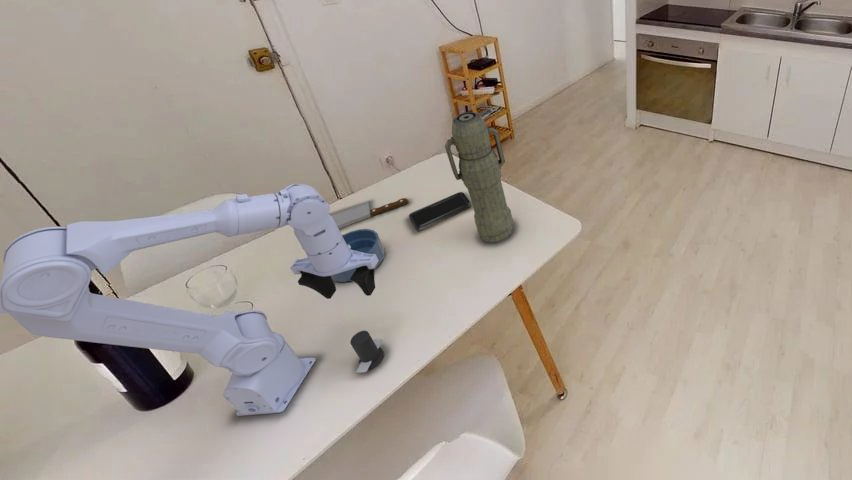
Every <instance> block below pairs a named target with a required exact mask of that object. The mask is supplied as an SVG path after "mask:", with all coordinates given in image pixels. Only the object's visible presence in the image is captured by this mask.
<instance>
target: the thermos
mask: <svg viewBox="0 0 852 480" xmlns="http://www.w3.org/2000/svg"><path fill="white" fill-rule="evenodd" d="M491 134H492V135H493V139H494V143H495V147H496V152H497V154H496V152H495V151H494V149H493V145H491V144H492V141H491V137H490V136H491ZM451 135H452V136H450V138H448V139H447V140H446V141H445V145H444V149H445V152H446V156H447V158H448V161H449V164H450V168H451V170H452V173H453V176H454V178H455V179H456V181H459V180H461V182H463V185H464V186H465V188H466V189H467V192H468V195H469V198H470V203H471V206H472V208H473V212H474V214H473V218H474V223H475V226H476V230H477V232H478V233H479V237H480V239H481V241H482V242H483V243H485V244H491V245H493V244H495V245H496V244H499V243H502V242H504V241H506V240H508V239H509V238H510V237H511V236H512V235H513V234H514V230H515V226H514V223H513V222H514V220H513V216H512V211H511V209H510V208H509V206H508V204H507V199H506V196H505V191H504V187H503V184H502V172H501V171H502V170H501V168H502V167H503V166H504V164H505V163H506V159H505V155H504V150H503V146H502V142H501V138H500V133H499V131H498V130H496V129H495V128H494V127H488V125H487V124H486V121H485V119H484V118H483V116H482V115H481V114H480V113H479V112H477V111H476V112H474V111H466V112H462V113H459V114H458V115H456V116H455V117H453V119H452V122H451ZM452 146H454V147H455V149H456V152H457V153H458V159H459V160H458V169H459V170H458V169H457V166H456V163H455V159H454V155H453V152H452V150H451V147H452Z"/></svg>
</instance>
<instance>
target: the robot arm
mask: <svg viewBox="0 0 852 480" xmlns="http://www.w3.org/2000/svg"><path fill="white" fill-rule="evenodd" d="M330 210H331V207H330V204H329V202H327V200H326V199H325V198H324V197H323V196H322V195H321V194H320V193H319V191H318V190H317V189H316V188H315V187H313V186H312V185H309V184H306V183H293V184H290V185H287V186H286V187H283V188H282V189H280V190H278V191H277V192H273V193H265V194H259V195H252V196H251V195H250V196H249V195H248V193H242V194H237V195H235V198H231V199H225V200H224V201H222V202H221V203H219V204H218V205H217V206H215V207H214V208H213V209H206V210H198V211H190V212H182V213H172V214H164V215H154V216H146V217H139V218H130V219H121V220H111V221H108V220H107V221H105V220H104V221H102V220H101V221H100V220H98V221H97V220H96V221H95V220H94V221H93V220H92V221H91V220H82V221H77V222H72V223H69V224H66V226H46V227H40V228H37V229H34V230H33V229H32V230H31V231H28V232H25V233H23V234H21V235H19V236H18V237H16V238H15V239H13V240H12V241H11V242H10V243H8V245H7V246H6V247H5V249H4V251H3V267H2V273H1V279H0V313H1V314H8V315H9V316H11V317H12V318H13V319H14V320H16V322H17V323H18V324H20V326H22V327H23V328H24V329H25V330H26V331H28V333H30V334H31V335H34V336H37V337H44V338H52V339H61V340H69V341H70V340H71V341H77V342H78V341H79V342H87V343H97V344H106V345H113V346H114V345H115V346H122V347H130V348H131V347H133V348H141V349H150V350H159V351H167V352H176V353H185V354H194V355H199V356H200V357H201V358H203V359H204V360H205V361H207V362H208V363H209V364H211V365H212V366H213V367H216V368H220V369H221V368H222V369H227V370H228V371H229V372H230V374H231V376H230V380H229V381H228V383H227V385H226V387H225V389H224V390H223V393H222V396H223V398H224V399H225V400H226V401H227V402H228V403H229V404H230V405H231V406H232V407H233V408H234V409H235V410H236V413H235V415H236V416H238V417H241V416H252V415H253V416H255V415H266V414H267V415H268V414H278V413H279V414H280V413H283V412H284V411H285V410H286V408H287V407H288V405H289V403H290V402H291V400H292V399H293V397H294V396H295V394H296V392H297V391H298V390H299V388H300V386H301V385H302V383H303V382H304V380H305V378H306V376H308V373H309V372H310V370H311V369H312V367H313V366H314V364H315V363H316V361H317V358H316V357H301V358H299V357H298V355H297V354H296V352H295V351H294V350H293V349H292V347H291V345H289V343H288V342H287V341H286V339H285V337H284V336H283V335H282V334H281V333H279V332H275V331H272V328H271V326H270V325H269V322H268V317H267V315H266V314H265V312H263V311H261V310H257V309H250V310H244V311H233V310H226V311H224V312H222V313H221V314H219V315H214V314H209V313H203V312H197V311H192V310H186V309H181V308H175V307H171V306H164V305H160V304H159V305H158V304H153V303H149V302H148V303H147V302H142V301H136V300H131V299H125V298H120V297H113V296H108V295H103V294H97V293H92V292H90V288H89V285H90V282H91V280H92V272H93V271H95V270H97V269H98V271H99V273H100V274H101V275H103V276H104V275H106V274H108V273H109V272H111V271H112V270H113V269H114V268H115V267H116V266H117V265H119V264H120V263H121V262H122V261H123V260H125V258H127V257H128V256H129V255H130V254H132V253H133V252H135V251H139V250H143V249H147V248H148V249H149V248H153V247H155V246H160V245H166V244H170V243H174V242H179V241H183V240H186V239H191V238H195V237H200V236H205V235H208V234H209V235H210V234H213V233H217V234H220V235H222V236H225V237H227V238H233V237H236V236H241V235H247V234H252V233H257V232H262V231H263V232H264V231H268V230H272V229H277V228H283V227H286V226H289V227H291V228H292V229H293V233H294V236H295V238H296V240H297V241H298V243H299V245H300V246H301V248H302V250H303V251H304V253H305V254H306V256H307V257H305V258H298V259H296V260H295V261H294V263H293V264H292V265H291V266H290V270H291V271H292V273H293V275H300V278H299V279H298V280H297V283H298V285H299V286H303V287H306V288H309V289H312V291H313V290H314V291H315V292H317V293H318V294H320V295H321V296H322V297H324V298H325V299H327V300H329V299H331V298H332V297H333V296H334V294H335V293H336V291H337V287H336V284H335V281H334V280H332V278H331V275H334V274H338V273H341V272H344V271H348V270H351V269H354V268H355V269H356V271H355V272H354V273H353V275H352V276H351V278H350V281H351V282H353V283H355V284H356V285H358V287H359V288H360V290H361V291H362V292H363V294H364V295H365V296H367V297H370V296H372V294H373V292H374V291H375V289H376V282H375V272H376V267H375V266H376V265H377V263H378V261H379V260H378V258H377V256H376V254H367V253H362V252H358V251H354V250H350V249H351V247H350V245H347V244H346V242H345V240H344V238H343V236H342V235H343V234H342V233H341V230H340V229H338V227H337V225H336V223H335V221H334V219H333V217H332V216H331V215H330Z"/></svg>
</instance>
